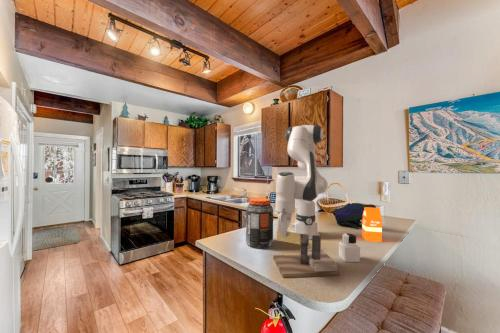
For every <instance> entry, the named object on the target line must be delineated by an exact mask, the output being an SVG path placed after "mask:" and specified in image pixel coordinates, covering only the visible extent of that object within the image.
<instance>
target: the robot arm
mask: <svg viewBox="0 0 500 333" xmlns="http://www.w3.org/2000/svg"><path fill="white" fill-rule="evenodd" d="M284 135H285V140H286V142H287V150H286V151H287V155H288V156H289V157H290V158H291V159H292V160H294V161H297V167H298V169H299V170H301V171H303V172H305V173H306V175H295V174H294V172H290V171H285V172H284V171H282V172H279V173H278V174H277V176H276V184H275V193H276V197H275V206H274V207H275V209H274V211H275V212H277V216H278V217H277V231H278V232H279V233H282V238H284V239H286V237H287V231H288V230H289V231H288V232H294V233H300V234H307V235H309V241H311V240H312V235H319V236H320V237H321V235H320V233H319V232H318V231H319V230H318V223H317V222H316V214H315V213H316V211H315V210H316V205H315V202H314V200H315V199H317V198H318V196H319V194H323V193H325V192H326V190H328V182H327V179H326V178H325V176H322V175H321V174H320V173H319V171H318V169H317V163H316V146H317V145H318V144H319V143H320V142H322V139H323V137H324V129H323V128H322V126H321V125H318V124H303V125H296V126H289V127H288V128H286V130H285V134H284ZM295 204H296V205H295ZM295 207H296V208H295ZM295 210H296V211H295ZM295 212H296V215H295V219H294V221H293V222H292V214H293V213H295ZM291 223H292V224H291ZM289 227H291V228H289Z"/></svg>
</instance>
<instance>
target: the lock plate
mask: <svg viewBox="0 0 500 333" xmlns="http://www.w3.org/2000/svg"><path fill="white" fill-rule="evenodd" d="M321 238H322V237H321V235H320V236H319V235H312V239H311V248H309V247H308V246H309V245H308V246H303V245H300V254H281V255H280V254H278V255H273V257H272V258H273V261H274V262H275V264H276V267H277V269H278V271H279V273H280V275H281V277H282V278H286V279H287V278H308V277H311V278H312V277H313V278H314V277H331V276H332V277H333V276H339V277H340V275H341V274H340V271H339V270H338V262H336V261H335V260H334V259H333V258H331V256H329V255H328V254H327V253H326V252H325V251H324V250H323V249H321V242H322V241H321Z"/></svg>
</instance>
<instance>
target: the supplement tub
mask: <svg viewBox="0 0 500 333" xmlns="http://www.w3.org/2000/svg"><path fill="white" fill-rule="evenodd" d="M271 201H272V200H271V199H270V198H267V197H253V198H252V197H251V198H249V199H248V205H247V206H246V208H245V243H246V245H247V246H249V247H251V248H255V249H265V248H269V247H271V246H272V245H273V243H274V208H273V206H272V205H271V204H272V203H271Z"/></svg>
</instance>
